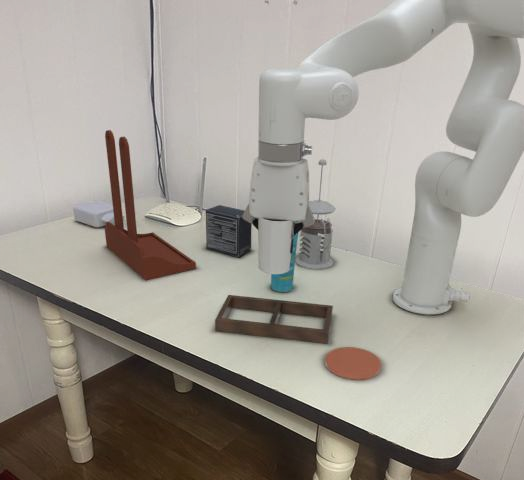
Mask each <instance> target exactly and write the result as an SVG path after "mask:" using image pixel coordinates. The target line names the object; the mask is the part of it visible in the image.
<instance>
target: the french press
mask: <svg viewBox="0 0 524 480" xmlns="http://www.w3.org/2000/svg"><path fill="white" fill-rule="evenodd" d="M327 163H328V161H327V160H326V159H323V158H322V159H319V160H318V166H321V170H320V182H319V192H318V193H319V195H318V199H314V200H311V201H310V200H309V207H310V209H311V211H312V213H313V215H317V217H316V218H315V222H314V224H313V225H311V226H308V227H306V228H303V229H302V230H300V237H301V238H300V239H299V242H300V243H299V247H300V248H299V254H298V255H297V256H296V257H295V264H297V265H299V267H303V268H306V269H314V270H315V269H316V270H322V269H328V268H330V267H332V266H333V265H334V263H335V262H334V260H333V259H332V258H331V252H332V250H331V249H332V240H333V229H332V226H333V224H332V222H331V220H330V218H327V219H326V220H325V219H323V218H320V219H319V215H321V216H323V215H330V214H332V213H334V212H335V211H336V207H335V205H333V204H332V203H330V202H328V201H325V200H321V192H322V191H321V190H322V180H323V168H324V167H323V166H327ZM322 235H324V236H322ZM322 240H323V241H322Z"/></svg>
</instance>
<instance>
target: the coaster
mask: <svg viewBox="0 0 524 480" xmlns="http://www.w3.org/2000/svg"><path fill="white" fill-rule="evenodd" d="M324 365H325V367H326V369H328V371H329V372H330V373H332V374H334V375H336V376H337V377H340V378H343V379H348V380H354V381H355V380H356V381H361V380H362V381H363V380H367V379H371V378H374V377H375V376H377V375H378V374H379V373H380V372H381V369H382V362H381V360H380V358H379V357H378V356H377V355H376V354H374V353H372V352H371V351H369V350H366V349H363V348H360V347H359V348H358V347H352V346H347V347H346V346H344V347H337V348H334V349H332V350H330V351H328V353H327V354H326V355H325V358H324Z"/></svg>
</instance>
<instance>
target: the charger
mask: <svg viewBox="0 0 524 480" xmlns="http://www.w3.org/2000/svg"><path fill="white" fill-rule="evenodd" d="M122 216H123V222H125V216H124V215H122ZM73 217H74V220H75V221H76V222H80V223H82V224H85V225H88V226H91V227H94V228H99V229H100V228H102V227H106V222H111V223H112V224H113V225H115V221H114V212H113V203H109V202H105V201H102V200H98V199H93V200H88V201H86V202H82V203H78V204H75V205H74V206H73Z"/></svg>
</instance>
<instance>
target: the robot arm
mask: <svg viewBox="0 0 524 480" xmlns="http://www.w3.org/2000/svg"><path fill="white" fill-rule="evenodd" d="M458 23H459V24H467V27H468V29H469V32H470V36H471V40H472V46H473V56H472V62H471V65H470V68H469V71H468V73H467V76H466V78H465V80H464V81H463V82H464V83H463V85H462V87H461V89H460V92H459V94H458V96H457V98H456V101H455V102H454V105H453V107H452V110H451V111H450V114H449V117H448V119H447V122H446V126H445V135H446V137H447V139H448V140H449V141H450V142H451V143H452V144H453V145H455V146H457V147H460V148H462V149H465V150H469V151H473V152H474V157H473V158H470V157H468V156H465V155H461V154H459V153H456V152H451V151H436V152H433V153H431V154H429V155H427V156H426V157H425V158H424V159H423V160H422V161H421V163H420V164H419V166H418V168H417V171H416V173H415V174H416V175H415V180H414V182H415V183H414V197H415V198H414V200H415V201H414V214H413V220H412V227H411V232H410V238H409V243H408V250H407V256H406V260H405V267H404V272H403V277H402V278H403V279H402V285H401V287H398V288H397V289H395V290H394V291H393V294H392V300H393V302H394V304H395V305H397V306H398V307H399V308H401V309H403V310H405V311H408V312H411V313H414V314H420V315H428V316H429V315H430V316H431V315H440V314H444V313H446V312H448V311H450V310H451V308H452V305H453V301H454V300H455V301H460V302H469V301H470V297H471V295H470V294H471V293H470V292H467V291H463V288H462V287H460V288H459V287H452V286H451V285H450V281H451V276H452V270H453V267H454V266H453V265H454V261H455V256H456V253H457V248H458V245H459V244H458V243H459V239H460V234H461V229H462V215H463V216H466V217H470V218H471V217H473V218H477V217H481V216H483V215H486V214H487V213H488V212H490V211H492V209H493V208H494V206H495V205H496V204H497V203H498V201H499V200H500V198H501V196H502V194H503V193H504V190H505V189H506V187H507V185H508V183H509V182H510V179H511V177H512V175H513V173H514V171H515V169H516V167H517V165H518V163H519V162H520V159H521V157H522V155H523V153H524V104H522V103H520V102H518V101H515V100H511V99H509V98H510V96H511V94H512V91H513V89H514V86H515V84H516V83H517V80H518V78H519V75H520V70H521V64H522V63H521V61H522V59H521V57H522V56H521V49H520V45H519V41H518V39H524V0H394V1H392V2H391V3H390V4H389V5H387V6H386V7H384V8H383V9H382V10H381V11H380V12H378V13H377V14H375V15H373V16H371V17H369V18H367V19H365V20H363V21H361V22H360V23H358V24H356V25H354V26H353V27H351V28H349V29H347V30H345V31H343V32H341V33H340V34H338V35H336V36H334V37H332V38H331V39H329V40H328V41H326V42H325V43H323V44H322V45H321V46H319V47H318V48H316V49H315V50H314V51H313V52H311V54H309V55H308V56H306V57H305V58H304V59H303V60H302V61H301V62H300V63H299V64H298V65H297V66H296V67H295V68H289V67H273V68H267V69H265V70H263V71H262V72H261V74H260V75H259V80H258V136H257V137H258V138H257V139H258V140H257V143H258V144H257V145H258V146H257V147H258V148H257V156H255V157H254V159H253V165H252V170H251V175H250V176H251V177H250V187H249V198H248V204H247V206H246V208H245V210H244V213H243V215H242V218H243V219H244V220H246V221H248V222H249V223H252V226H253V227H254V228H255V229H256V230H257V231H258V218H263V219H265V220H280V221H288V220H290V221H292V228H291V238H292V240H291V248H290V253H292V252H293V238H294V235H296V234H297V233H298V234H299V232H301V230H302V229H303V228H306V227H308V226H311V225H313V224H314V222H315V219H316V217H315V216H314V214H313V213H312V211H311V209H310V207H309V202H310V171H309V170H310V169H309V161H308V159H306V158H304V157H305V156H308V155H310V156H311V155H312V154H313V146H312V145H308V144H306V143H305V141H306V140H305V128H306V119H309V118H310V119H318V120H329V121H334V120H339V119H342V118H344V117H346V116H348V115H349V114H350V113H351V112H352V111H353V110H354V109H355V107H356V105H357V103H358V100H359V92H360V91H359V86H358V84H357V81H356V80H355V77H357V76H359V75H361V74H364V73H367V72H371V71H376V70H379V69H387V68H389V67H393V66H397V65H399V64H402V63H404V62H407V61H409V60H410V59H411V58H412V57H413V56H415V55H416V54H418V52H419V51H421V50H422V49H423V48H424V47H426V46H427V45H428V44H429V43H431V42H432V41H433V40H434V39H435V38H437V37H438V36H439V35H441V34H442V33H443V32H444V31H445V30H447V29H448V28H450V27H451V26H453V25H455V24H458ZM294 221H295V225H294ZM297 221H298V222H297ZM296 222H297V223H296Z"/></svg>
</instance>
